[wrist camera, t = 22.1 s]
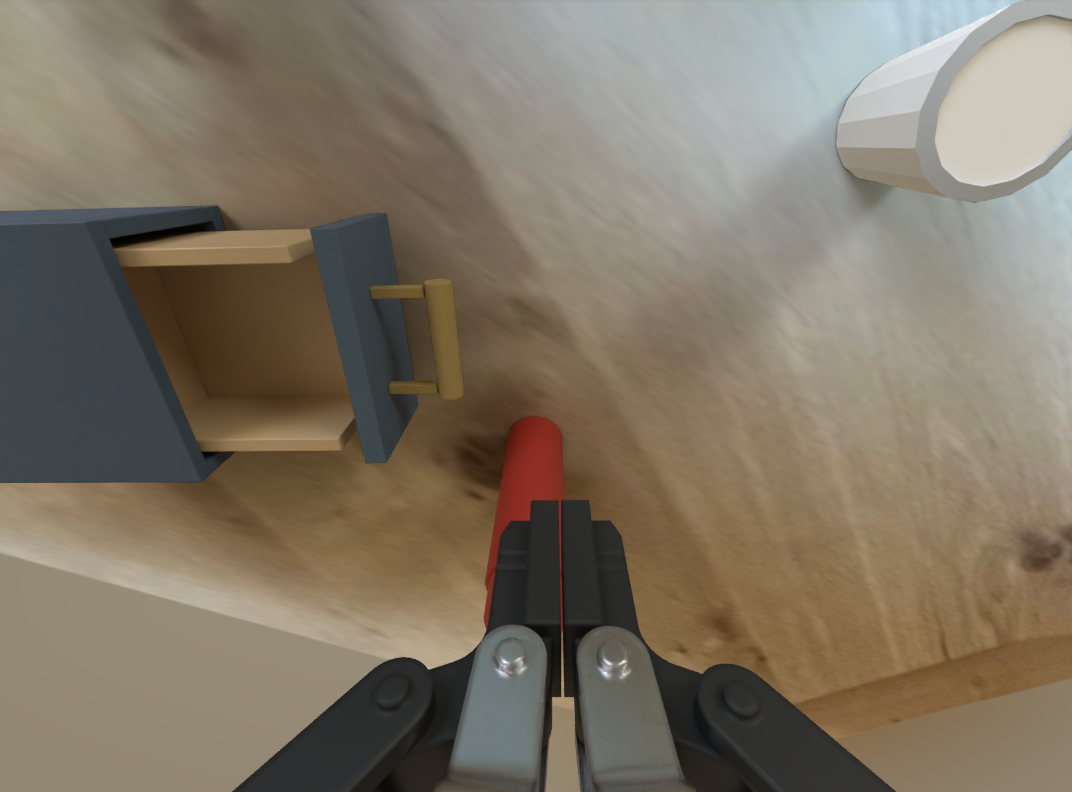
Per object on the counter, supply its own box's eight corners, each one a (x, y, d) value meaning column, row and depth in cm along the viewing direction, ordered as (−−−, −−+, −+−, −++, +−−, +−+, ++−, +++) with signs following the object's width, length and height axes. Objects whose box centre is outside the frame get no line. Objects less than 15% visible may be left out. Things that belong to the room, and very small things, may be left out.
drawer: (460, 211, 26) (431, 225, 19) (478, 405, 31) (461, 463, 25) (140, 219, 26) (17, 236, 20) (214, 407, 32) (136, 464, 26)
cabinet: (218, 205, 27) (84, 221, 19) (283, 408, 33) (202, 482, 25) (-34, 212, 27) (-262, 231, 20) (76, 410, 33) (-65, 483, 26)
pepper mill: (534, 405, 32) (519, 609, 17) (573, 439, 33) (591, 656, 19) (496, 439, 33) (454, 654, 19) (536, 470, 35) (524, 695, 20)
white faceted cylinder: (936, 191, 25) (1063, 200, 19) (809, 195, 25) (893, 205, 19) (988, 36, 22) (1160, -14, 16) (843, 43, 22) (956, -4, 16)
